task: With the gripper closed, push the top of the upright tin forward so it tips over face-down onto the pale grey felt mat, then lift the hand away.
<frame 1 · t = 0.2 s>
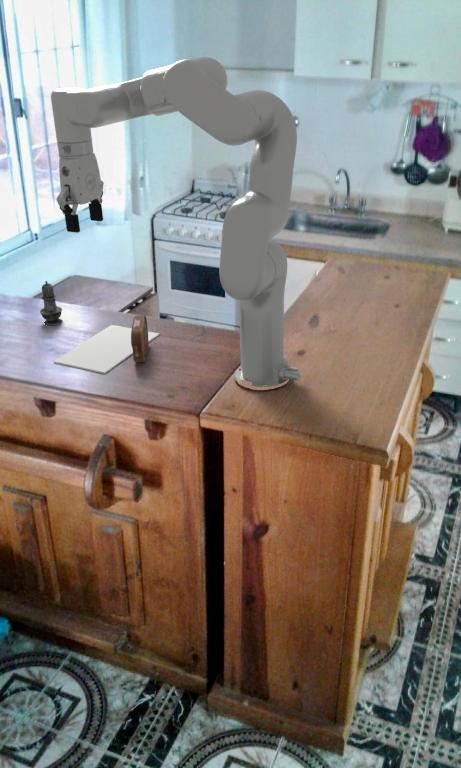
hand: (85, 226, 163), 31 cm above the countertop, fingers open, 9 cm apart
felt mat: (108, 348, 177), on the countertop
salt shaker: (53, 323, 193), on the countertop
tin: (140, 354, 173), on the countertop, touching felt mat
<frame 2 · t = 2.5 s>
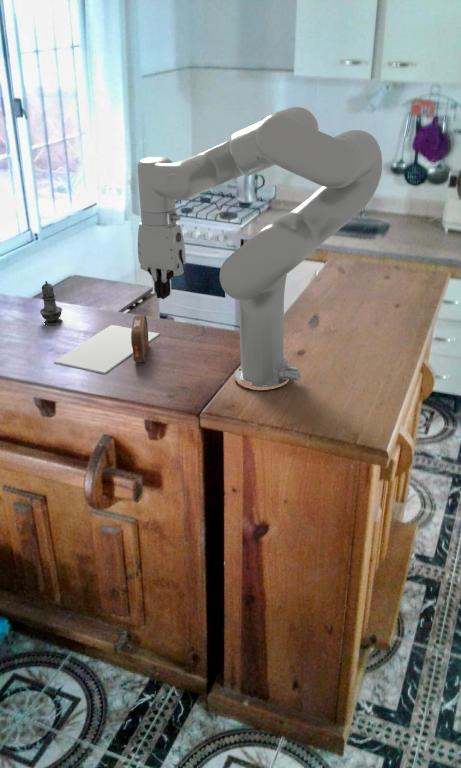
hand: (163, 296, 162), 16 cm above the countertop, fingers closed
nothing on the countertop moved.
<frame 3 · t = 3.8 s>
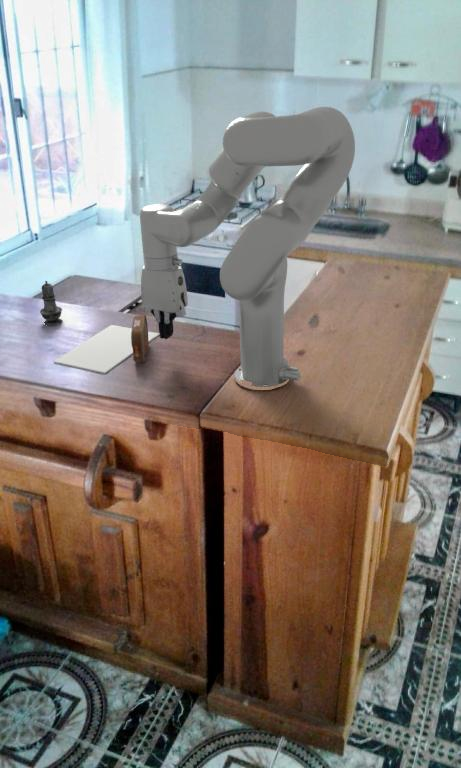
hand: (166, 336, 167), 6 cm above the countertop, fingers closed
nothing on the countertop moved.
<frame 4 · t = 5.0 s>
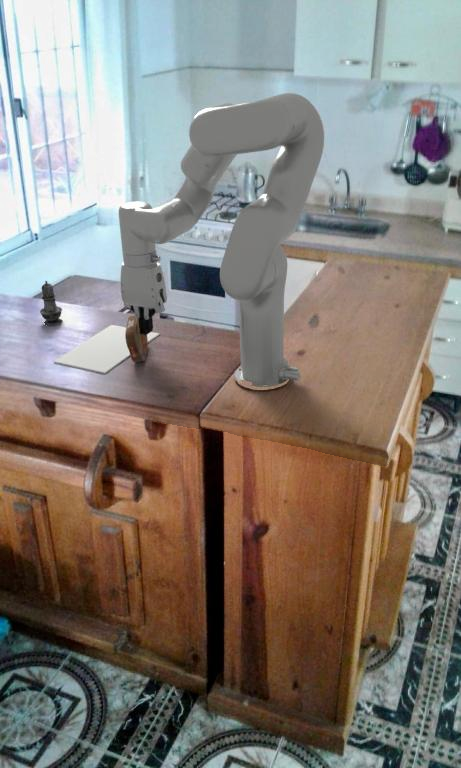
hand: (146, 332, 169), 6 cm above the countertop, fingers closed
tin: (140, 353, 173), on the countertop, touching felt mat, gripper
everything else where it was.
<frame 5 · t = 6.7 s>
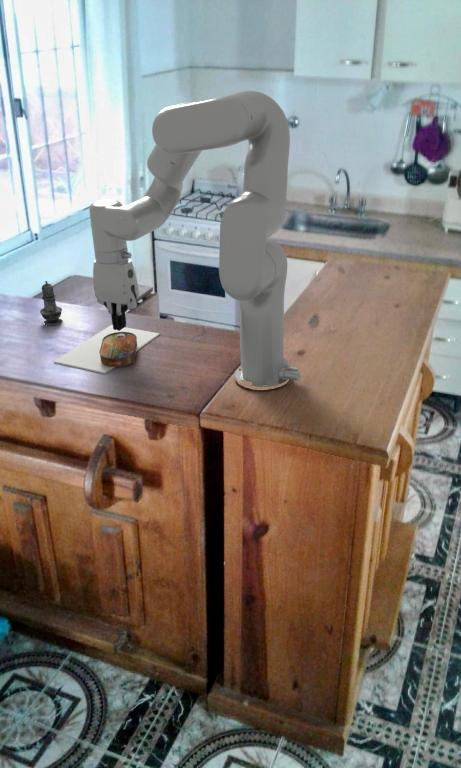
hand: (119, 328, 172), 6 cm above the countertop, fingers closed
tin: (136, 349, 172), point 1 cm above the countertop, touching felt mat
everything else where it was.
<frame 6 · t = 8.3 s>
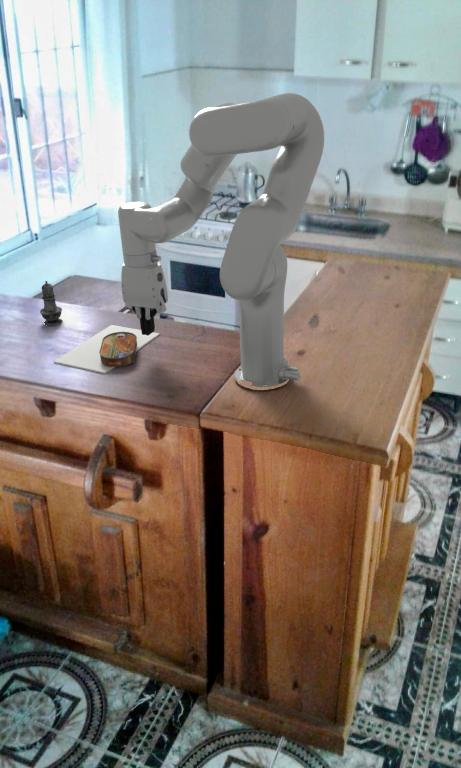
hand: (148, 332, 169), 6 cm above the countertop, fingers closed
nothing on the countertop moved.
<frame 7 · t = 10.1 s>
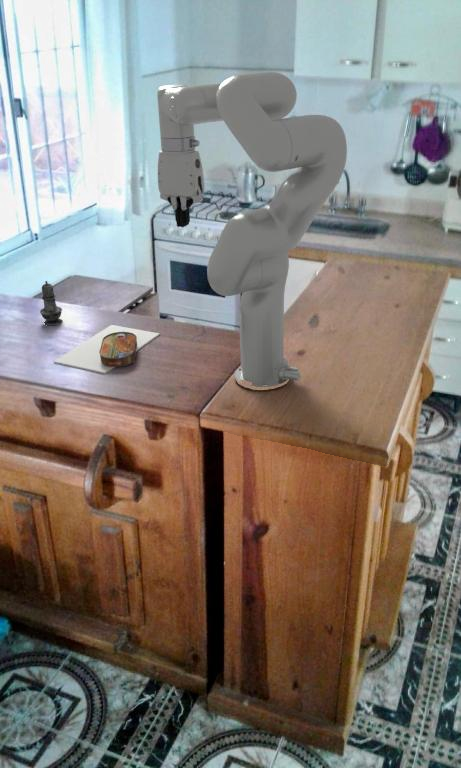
hand: (183, 225, 167), 29 cm above the countertop, fingers closed
nothing on the countertop moved.
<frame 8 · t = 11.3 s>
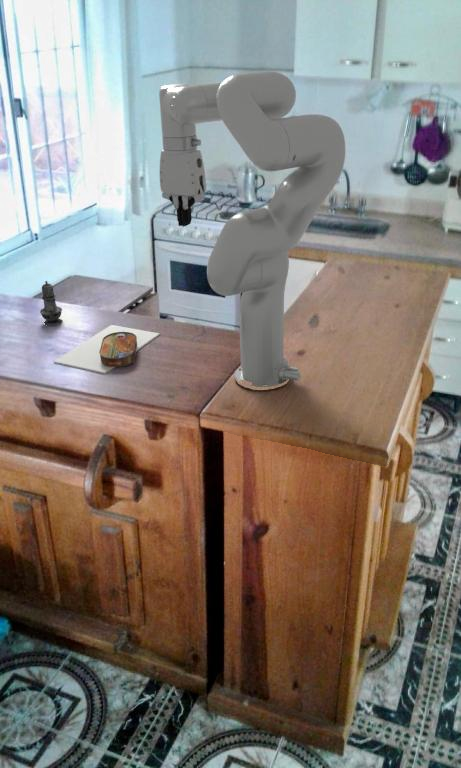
hand: (184, 224, 168), 29 cm above the countertop, fingers closed
nothing on the countertop moved.
at the end: tin tilted 86°; tin touching felt mat; tin inside the target area on the felt mat (6.8 cm from its centre), point 1.4 cm above the felt mat's base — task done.
